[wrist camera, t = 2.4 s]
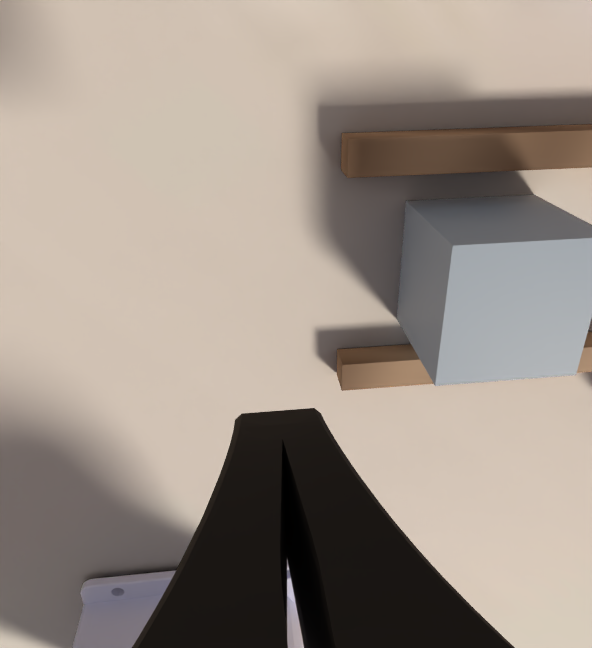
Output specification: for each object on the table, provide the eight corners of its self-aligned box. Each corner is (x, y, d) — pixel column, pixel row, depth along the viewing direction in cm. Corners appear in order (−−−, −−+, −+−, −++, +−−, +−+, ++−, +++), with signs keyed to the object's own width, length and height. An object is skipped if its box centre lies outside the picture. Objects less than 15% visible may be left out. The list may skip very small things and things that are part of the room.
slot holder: (336, 373, 19) (341, 390, 18) (341, 133, 15) (348, 138, 14) (608, 353, 19) (626, 368, 19) (678, 120, 16) (705, 125, 15)
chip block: (396, 317, 18) (434, 385, 14) (405, 200, 16) (452, 245, 13) (510, 310, 18) (575, 374, 15) (532, 194, 16) (614, 236, 13)
